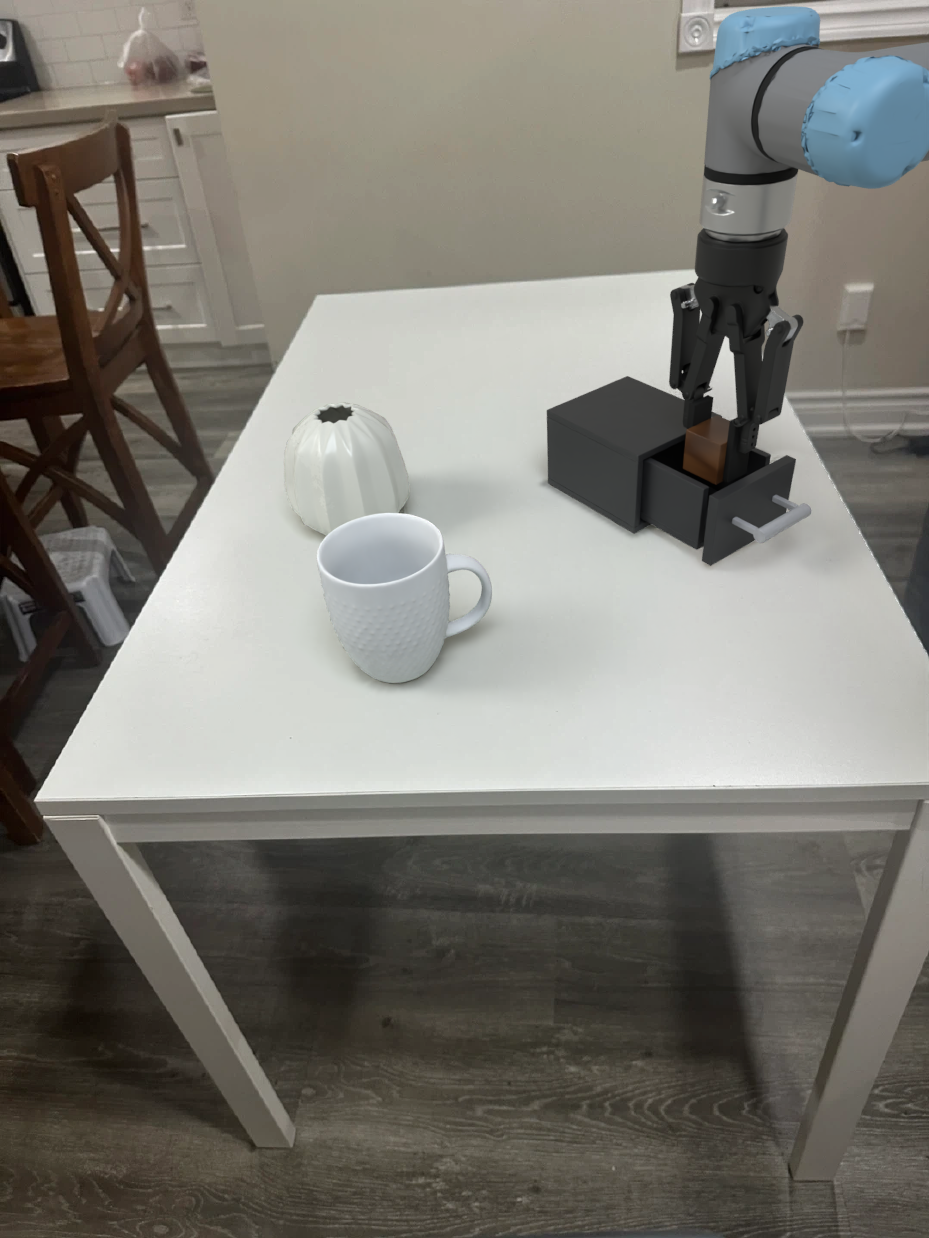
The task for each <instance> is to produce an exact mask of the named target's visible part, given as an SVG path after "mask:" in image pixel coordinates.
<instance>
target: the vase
mask: <svg viewBox="0 0 929 1238" xmlns="http://www.w3.org/2000/svg"><path fill="white" fill-rule="evenodd" d="M399 445H400V444H399V443H398V440H397V437H396V434H395V431H394V429H393V428H392V425H391V424H390V423H389V420H387V418H385V417H384V416H383V415H380V414H379V413H377V412H375V411H374V410H371V409H369V408H366V407H364V406H362V405H360V404H356V403H350V402H345V401H341V402H338V403H327V404H325V405H323V406H320V407H317V408H315V409H313V410H312V411H310V412H309V413H308V414H307V415H305V416H304V417H303V418H302V419H301V420H300V421H299V422H298V423H297V424H296V425H295V426H294V427H293V428H292V431H291V435H290V437H289V438H288V440H287V442H286V445H285V449H284V453H283V479H284V487H285V493H286V497H287V500H288V503H289V505H290V508H291V510H292V511H293V512H294V513H295V514H297V515H298V516H299V517H300V519H301V521H302V523H303V525H304V526H306V527H308V528H310V529H312V530H314V531H316V532H317V533H320V534H322V535H325V537H326V536H327V535H328V534H329V533H330V532H331V531H333V530H334V529H336V528H337V527H339V526H341V525H343V524H345V523H347V522H349V521H351V520H354V519H357V518H360V517H364V516H368V515H373V514H379V513H400V511H401V509H402V508H403V507H404V506H405V504H406V502H407V501H408V499H409V498H410V493H411V492H410V488H411V485H410V479H409V473H408V470H407V467H406V463H405V459H404V457H403V454H402V452H401V448H400V446H399Z"/></svg>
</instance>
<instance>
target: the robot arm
mask: <svg viewBox="0 0 929 1238" xmlns="http://www.w3.org/2000/svg"><path fill="white" fill-rule="evenodd" d="M820 28H821V17H820V14H819V13H818V12H817V11H816V10H815V9H813V8H812V7H807V6H797V5H796V6H795V5H794V6H792V5H791V6H788V5H787V6H770V7H769V6H768V7H758V8H757V7H756V8H750V9H745V10H739V11H735V12H733V13H730V14H729V15H727V16H726V17H725V18H724V19H723V20H722V21H721V23H720V24H719V26H718V29H717V33H716V40H715V49H714V54H713V55H714V57H713V63H712V68H711V71H710V72H709V73H710V74H709V81H710V83H709V92H708V93H709V96H708V108H707V121H706V132H705V133H706V134H705V148H704V158H703V159H704V162H703V164H704V166H703V167H704V168H703V176H702V187H701V196H700V197H701V198H700V210H699V221H698V222H699V225H700V226H701V227H702V228H701V230H700V231H699V232H698V234H697V236H696V237H697V238H696V246H695V247H696V248H695V249H696V250H695V260H694V273H695V275H696V276H697V279H696V281H695V282H689V283H687V284H684V285H682V286H679V287H676V288H674V289H672V290H671V291H670V293H669V297H670V303H671V309H672V313H673V318H672V330H671V331H672V334H671V347H670V360H669V361H670V362H669V363H670V364H669V379H668V385H669V387H670V388H671V390H678V391H679V392H680V393H681V396H682V399H683V400H685V401H684V413H683V426H684V427H685V428H687V429H689V428H691V427H693V426H695V425H697V424H700V423H702V422H704V421H706V420H708V419H710V418H711V415H712V412H713V405H714V397H713V396H711V395H709V394H707V393H709V392H711V391H712V390H713V387H711V386H710V383H711V382H712V381H711V380H712V377H713V376H714V371H715V369H716V366H717V362H718V359H719V355H720V353H721V350H722V347H723V344H724V340H725V337H726V338H727V339H728V346H729V347H728V348H729V352H730V353H732V354H733V367H734V384H735V400H736V401H735V403H736V417H735V418H733V419H731V420H729V421H730V423H729V431H728V439H727V448H726V456H725V464H724V471H723V479H722V480H724V481H726V482H730V481H732V480H734V479H736V478H738V477H740V476H742V475H744V474H745V473H746V471H747V464H748V458H749V451H751V450H753V449H754V448H757V447H756V446H757V445H758V437H759V431H760V430H759V429H760V425H763V424H765V423H767V422H769V421H771V420H773V419H775V418H778V417H779V416H780V415H781V414H782V409H783V404H784V398H785V393H786V389H787V388H786V387H787V383H788V376H789V371H790V365H791V360H792V356H793V350H794V344H795V340H796V338H797V337H798V335H799V333H800V331H801V329H802V328H803V326H804V318H803V316H802V315H800V314H793V315H792V316H791V315H789V314H788V313H787V312H786V311H785V310H783V309H782V308H781V307H780V306H779V305H780V299H779V296H778V290H777V286H778V283H779V280H780V278H781V276H782V274H783V271H784V265H785V259H786V253H787V246H788V239H789V233H788V232H787V230H786V229H785V228H786V227H787V226H788V225H790V223H791V221H792V215H793V208H794V202H795V195H796V188H797V181H798V174H799V170H800V171H803V172H804V173H805V172H806V173H807V174H808V173H809V174H811V175H813V176H817V177H819V178H822V179H824V180H825V181H826V182H828V183H834V184H835V185H837V186H843V187H851V186H852V187H857V188H861V189H868V190H873V189H881V188H886V187H889V186H892V185H894V184H895V183H897V182H898V181H900V179H901V178H902V177H904V176H905V175H906V174H907V173H909V172H911V171H912V170H914V169H915V168H916V167H917V166H918V165H920V164H921V163H922V162H927V161H929V41H927V42H919V43H914V44H912V43H911V44H907V45H900V46H894V47H886V48H880V49H875V50H867V51H855V52H854V51H841V50H832V49H824V48H820V44H821V40H820V39H821V37H820V34H821V33H820V31H821V29H820ZM767 322H768V327H767V329H765V324H766V323H767ZM766 337H767V339H766ZM764 343H765V345H764ZM763 345H764V349H763ZM705 394H707V395H705Z"/></svg>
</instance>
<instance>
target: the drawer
mask: <svg viewBox="0 0 929 1238" xmlns="http://www.w3.org/2000/svg"><path fill="white" fill-rule="evenodd" d="M684 450H685V440H684V441H682V442H679V443H677V444H675V445H673V446H671V447H669V448H667V449H665V450H663V451H661V452H659V453H657V454H655V455H652V456H650V457H648V458H646V459H644V460H643V473H642V490H641V507H640V518H641V519H643V520H645V521H646V522H648V523H650V524H651V526H653V527H655V528H656V529H659V530H660V531H662V532H664V533H666V534H668V535H670V537H673V538H675V539H676V540H677V541H680V542H681V543H684V544H685V545H687V546H689V547H690V548H691V549H694V550H696V551H699V550H700V549H701V548H702V556H701V562H702V563H705V564H706V565H708V566H710V567H711V566H713V565H715V564H717V563H719V562H720V561H722V560H724V559H726V558H728V557H729V556H731V555H732V554H734V553H736V552H738V551H739V550H741V549H743V548H745V547H747V546H748V545H750V544H751V543H753V542H757V543H758V544H763V543H765V542H767V541H769V540H770V539H772V538H773V537H775V536H778V535H779V534H780V533H783V532H784V531H785V530H787V529H790V528H791V527H792V526H795V525H796V524H798V523H800V522H801V521H804V519H806V518H808V517H811V515H812V511H813V510H812V507H811V506H810V504H809V503H805V502H804V503H801V504H797V503H796V502H793V501H791V500H790V495H791V490H792V484H793V479H794V473H795V468H796V463H797V458H794V457H792V456H791V455H787V454H786V455H784V456H782V457H780V458H778V459H776V460H774V461H773V462H771V459H772V454H771V453H769V452H767V451H765V450H762V449H760V448H758V447H755V448H754V449H753V450H751V451H749V458H748V464H747V471H746V473H745V474H744V475H742V476H740V477H738V478H736V479H734V480H732V481H730V482H726V481H722V482H720V483H718V484H717V485H715V484H713V483H711V482H709V481H707V480H705V479H703V478H701V477H699V476H697V475H695V474H693V473H691V472H689V471H687V470H685V469H683V461H684ZM788 510H789V511H788Z"/></svg>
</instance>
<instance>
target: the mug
mask: <svg viewBox="0 0 929 1238" xmlns="http://www.w3.org/2000/svg"><path fill="white" fill-rule="evenodd" d="M316 566H317V571H318V574H319V579H320V586H321V588H322V593H323V597H324V601H325V605H326V609H327V612H328V614H329V620H330V622H331V623H332V626H333V630H334V632H335V634H336V636H337V638H338V641H339V642H340V644H341V645H342V648H343V649H344V651H345V652H346V653H347V655H348V657H349V658H350V659H351V660H352V661H353V663H354V664H355V665H356V666H357V667H358V668H359V669H360V670H361V671H363V673H365V674H367V675H368V676H369V677H370V678H373V679H374V680H376V681H380V682H384V683H388V684H401V683H402V684H403V683H406V682H410V681H413V680H415V679H417V678H419V677H421V676H423V675H424V674H425V673H427V672H428V671H429V670H430V669H431V667H432V666H433V665H434V663H435V662H436V660H437V659H438V656H439V655H440V653H441V652H442V649H443V646H444V644H445V639H447V638H450V637H454V636H456V635H459V634H460V633H463V632H465V631H467V630H469V629H471V628H472V627H474V626H476V624H478V623H479V622H480V621H481V620H483V618H484V617H485V616H486V614H487V612H488V610H489V608H490V606H491V603H492V597H493V586H492V580H491V577H490V575H489V573H488V571H487V569H486V568H485V567H484V565H483V564H482V563H481V562H480V561H479V560H477V559H476V558H475V557H472V556H470V555H466V554H461V553H446V547H445V540H444V537H443V534H442V532H441V530H440V528H438V527H437V525H435V524H434V523H432V522H431V521H429V520H428V519H426V518H424V517H421V516H418V515H414V514H411V513H401V512H399V513H379V514H373V515H368V516H364V517H360V518H357V519H354V520H351V521H349V522H347V523H345V524H343V525H341V526H339V527H337V528H336V529H334V530H333V531H331V532H330V533H329V534H328V535H327V536H326V535H325V536H324V538H323V539H322V541H320V544H319V545H318V548H317V550H316ZM457 571H469V572H471V573H473V574H475V575H476V577H477V578H478V579H479V582H480V585H481V592H480V597H479V599H478V601H477V603H476V604H475V606H474V607H473V608H472V609H470V610H469V612H467V613H466V614H464V615H462V616H461V617H459V618H457V619H454V620H450V621H449V619H450V609H451V608H450V607H451V606H450V605H451V603H450V596H451V594H450V593H451V592H450V580H449V574H450V573H453V572H457Z"/></svg>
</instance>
